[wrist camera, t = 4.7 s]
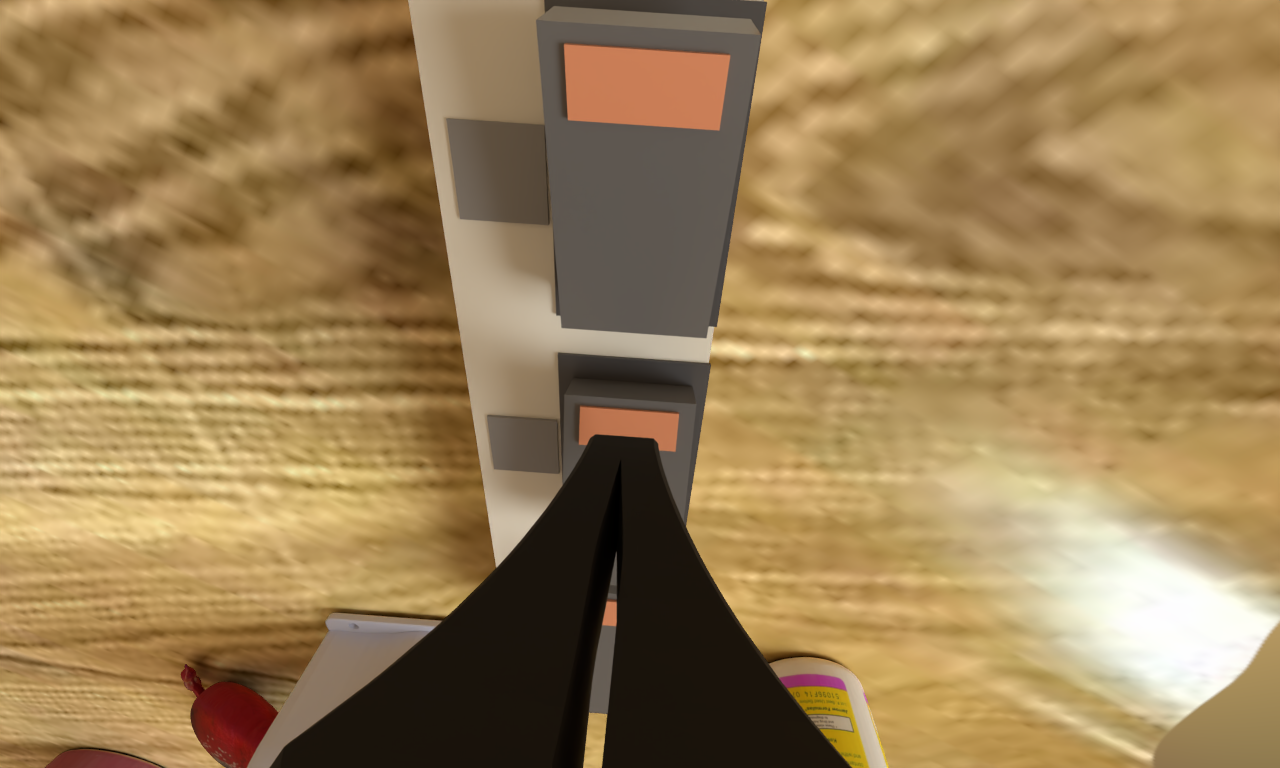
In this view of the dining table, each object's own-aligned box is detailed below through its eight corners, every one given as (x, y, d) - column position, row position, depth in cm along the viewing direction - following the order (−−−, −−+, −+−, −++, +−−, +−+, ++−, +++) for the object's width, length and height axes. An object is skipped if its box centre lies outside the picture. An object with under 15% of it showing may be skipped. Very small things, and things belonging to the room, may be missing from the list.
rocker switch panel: (530, 593, 24) (508, 677, 21) (459, -99, 11) (365, -179, 7) (662, 603, 24) (662, 689, 21) (754, -80, 11) (794, -151, 7)
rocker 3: (569, 549, 15) (560, 583, 13) (573, 377, 13) (563, 396, 12) (674, 557, 15) (676, 592, 13) (692, 385, 13) (696, 405, 12)
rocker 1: (573, 675, 19) (567, 713, 18) (576, 560, 17) (569, 592, 16) (656, 682, 19) (655, 720, 18) (668, 567, 17) (669, 599, 16)
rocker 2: (571, 292, 12) (560, 331, 11) (553, 5, 8) (534, 21, 7) (704, 301, 12) (706, 341, 11) (750, 18, 8) (762, 36, 7)
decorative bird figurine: (206, 614, 26) (337, 748, 25) (219, 695, 37) (312, 790, 36) (138, 661, 24) (280, 810, 23) (173, 732, 35) (271, 836, 34)
